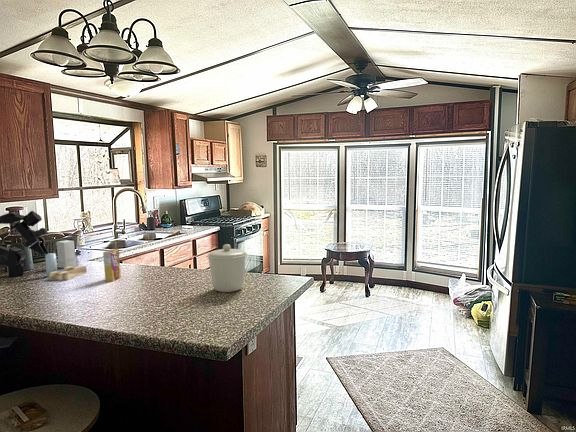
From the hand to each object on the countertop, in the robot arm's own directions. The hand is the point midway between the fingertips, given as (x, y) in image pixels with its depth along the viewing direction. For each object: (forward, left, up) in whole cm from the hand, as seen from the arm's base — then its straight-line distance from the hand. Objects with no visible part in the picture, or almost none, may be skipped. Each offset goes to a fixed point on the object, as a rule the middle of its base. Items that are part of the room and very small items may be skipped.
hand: (45, 253), depth 220 cm
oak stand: (+8, -15, -11) cm, 20 cm away
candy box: (+24, -38, -11) cm, 47 cm away
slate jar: (+1, -8, -11) cm, 14 cm away
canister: (+59, -94, -11) cm, 112 cm away
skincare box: (+12, +11, -11) cm, 20 cm away
